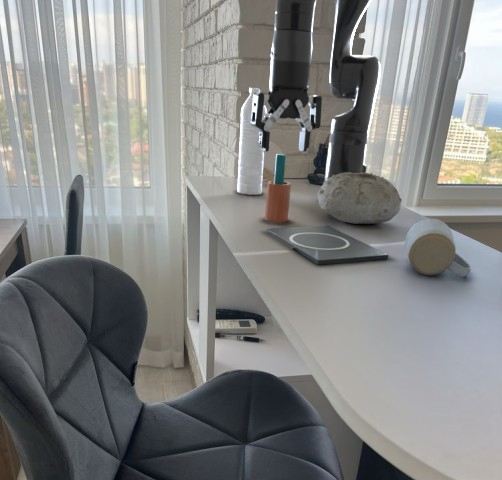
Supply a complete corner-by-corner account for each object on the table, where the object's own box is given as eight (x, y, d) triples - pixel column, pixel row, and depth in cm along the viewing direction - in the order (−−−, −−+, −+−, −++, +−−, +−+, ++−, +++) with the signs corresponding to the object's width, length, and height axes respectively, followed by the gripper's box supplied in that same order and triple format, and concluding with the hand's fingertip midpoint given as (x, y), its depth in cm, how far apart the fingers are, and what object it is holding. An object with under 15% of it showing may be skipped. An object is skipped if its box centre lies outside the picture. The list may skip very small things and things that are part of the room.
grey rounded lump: (411, 232, 106) (421, 183, 102) (333, 232, 102) (340, 181, 97) (373, 212, 121) (380, 169, 117) (303, 211, 117) (308, 166, 113)
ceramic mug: (403, 274, 80) (414, 226, 77) (400, 259, 87) (410, 215, 84) (472, 284, 79) (487, 236, 75) (464, 268, 86) (477, 223, 82)
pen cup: (281, 218, 110) (284, 180, 107) (291, 223, 106) (295, 184, 103) (261, 219, 108) (263, 180, 105) (270, 224, 104) (273, 185, 101)
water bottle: (262, 195, 131) (269, 89, 120) (237, 194, 131) (242, 87, 120) (259, 189, 139) (266, 88, 128) (236, 188, 139) (240, 87, 128)
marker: (278, 217, 108) (283, 153, 102) (282, 220, 106) (287, 155, 101) (269, 218, 107) (274, 153, 102) (273, 220, 106) (278, 155, 100)
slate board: (327, 229, 104) (328, 225, 103) (387, 259, 87) (388, 254, 87) (266, 232, 98) (266, 228, 98) (317, 265, 82) (318, 259, 82)
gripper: (264, 57, 89) (259, 153, 96) (334, 62, 94) (323, 153, 102) (248, 57, 95) (244, 148, 102) (314, 62, 100) (305, 148, 108)
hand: (284, 151), depth 102 cm, fingers open, 8 cm apart
